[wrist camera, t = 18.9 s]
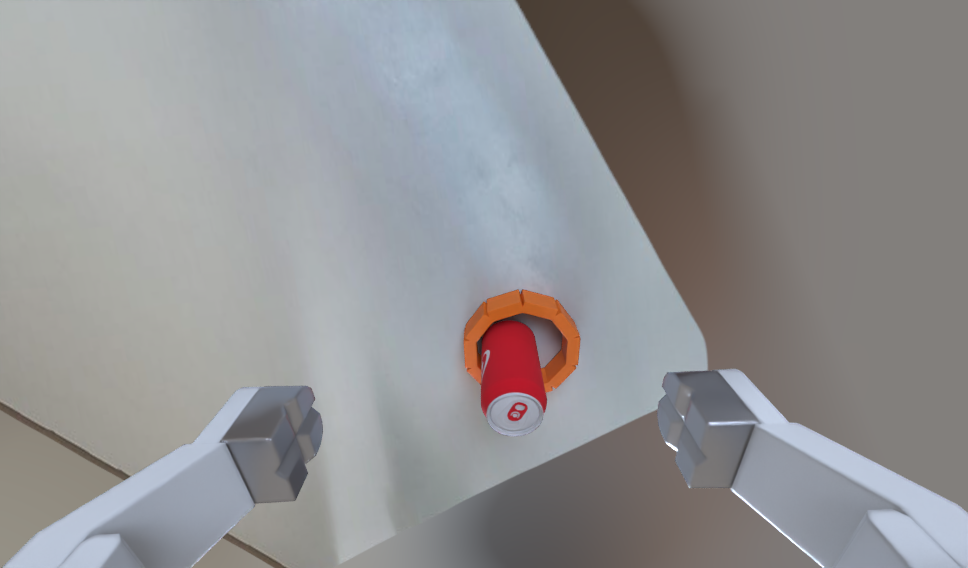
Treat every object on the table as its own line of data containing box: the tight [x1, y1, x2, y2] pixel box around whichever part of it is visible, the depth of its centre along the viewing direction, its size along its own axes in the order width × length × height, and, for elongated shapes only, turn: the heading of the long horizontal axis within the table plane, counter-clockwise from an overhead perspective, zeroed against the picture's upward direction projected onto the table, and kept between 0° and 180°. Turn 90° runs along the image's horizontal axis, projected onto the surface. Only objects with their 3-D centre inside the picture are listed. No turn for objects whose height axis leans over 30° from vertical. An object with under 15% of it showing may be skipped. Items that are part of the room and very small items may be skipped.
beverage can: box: [481, 320, 547, 436], centre depth 40 cm, size 6×6×12 cm
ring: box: [464, 290, 580, 392], centre depth 45 cm, size 13×13×3 cm
